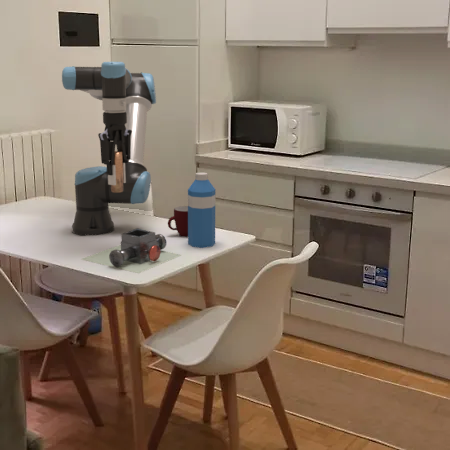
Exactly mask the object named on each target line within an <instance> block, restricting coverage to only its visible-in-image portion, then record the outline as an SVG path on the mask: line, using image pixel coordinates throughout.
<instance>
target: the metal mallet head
mask: <svg viewBox="0 0 450 450" xmlns="http://www.w3.org/2000/svg"><path fill="white" fill-rule="evenodd" d="M120 234H121V237H120V238H121V241H120V245H121V251H120V250H113V251H111V252H110V255H109V259H110V262H111V263H112V265H114V266H116V267H119V266H121V265H123V263H124V261H129V262H133V263H138V264H142V263H145V262H147V261H150V260H151V261H157V260H158V258H159V257H160V252H161V251H160V250H162V251H163V250H164V249H165V248H166V247H167V239H166V237H165V236H164V235H163V234H161V233H157V234H156V232H155V231H149V230H146V229H145V230H144V229H140V228H135V229H132V230H128V231H126V232H124V233H120Z"/></svg>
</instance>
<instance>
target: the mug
mask: <svg viewBox="0 0 450 450" xmlns="http://www.w3.org/2000/svg"><path fill="white" fill-rule="evenodd" d="M172 221H174V223H175V227H172ZM167 226H168V229H170V230H172V231H177V233H178V235H179V237H184V238H188V205H180V206H175V207H174V208H173V215H172V216H171V217H169V219H168V221H167Z"/></svg>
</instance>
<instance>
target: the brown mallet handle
mask: <svg viewBox="0 0 450 450" xmlns="http://www.w3.org/2000/svg"><path fill="white" fill-rule="evenodd" d="M113 165H115V167H116V185H111V192H115V193H118V192H123V158H122V151H117V150H115V154H114V164H113Z"/></svg>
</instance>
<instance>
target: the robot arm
mask: <svg viewBox="0 0 450 450" xmlns="http://www.w3.org/2000/svg"><path fill="white" fill-rule="evenodd" d="M61 82H62V87H63V88H64V89H65V90H68V91H82V92H85V93H87V94H89V95H90V96H91V97H92V98H94V99H97V100H100V101H101V103H102V111H104V112H103V113H102V123H103V124H104V125H105V127H104V131H103V132H101V133H98V134H97V135H98V139H99V144H100V159H101V164H103V165H106V166H102V165H101V166H99V165H98V166H91V167H86V168H82V169H80V170H78V171H76V172H75V175H74V188H75V189H74V193H75V207H76V209H75V211H76V212H75V215H74V218H73V223H72V226H71V229H72V233H73V234H75V235H79V236H102V235H106V234H111V233H112V232H114V231H115V224H114V221H113V219H112V215H111V213H110V209H109V205H110V204H121V205H122V204H124V205H125V204H126V205H128V204H129V205H136V204H144V203H146V201H147V200H148V198H149V195H150V190H151V180H152V179H151V178H152V177H151V173H150V172H149V171H148V169H147V166H145V165H144V161H145V160H144V159H145V158H144V157H145V143H146V131H147V129H146V128H147V117H148V116H147V115H148V112H150V110H151V108H152V105H154V104H156V103H157V96H156V88H155V87H156V86H155V78H154V76H153V74H152V73H149V72H147V73H146V72H142V71H141V72H131V71H129V69H128V68H126V63H124V61H103V62H102V63H101V65H100V66H64V67H63V68H62V73H61ZM115 151H122V158H123V192H118V193H115V192H111V185H116V167H115V165H113V164H114V154H115Z"/></svg>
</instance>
